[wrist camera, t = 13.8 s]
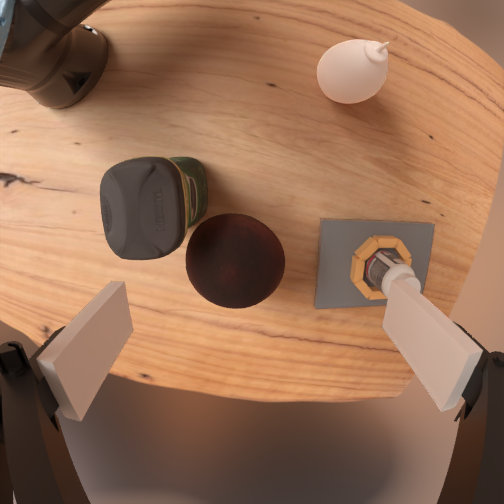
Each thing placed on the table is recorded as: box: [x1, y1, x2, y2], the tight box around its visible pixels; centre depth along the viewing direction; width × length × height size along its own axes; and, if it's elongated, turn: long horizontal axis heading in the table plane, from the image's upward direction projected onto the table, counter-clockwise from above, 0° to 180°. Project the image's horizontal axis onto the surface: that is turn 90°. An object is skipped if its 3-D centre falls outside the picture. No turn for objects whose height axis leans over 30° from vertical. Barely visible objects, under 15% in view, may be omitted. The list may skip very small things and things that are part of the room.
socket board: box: [314, 219, 435, 309], centre depth 42 cm, size 14×20×3 cm
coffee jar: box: [100, 156, 207, 260], centre depth 31 cm, size 10×8×19 cm
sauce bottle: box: [317, 39, 390, 104], centre depth 27 cm, size 8×8×18 cm
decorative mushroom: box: [186, 214, 285, 309], centre depth 35 cm, size 11×11×15 cm
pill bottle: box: [365, 250, 421, 298], centre depth 38 cm, size 5×5×10 cm
